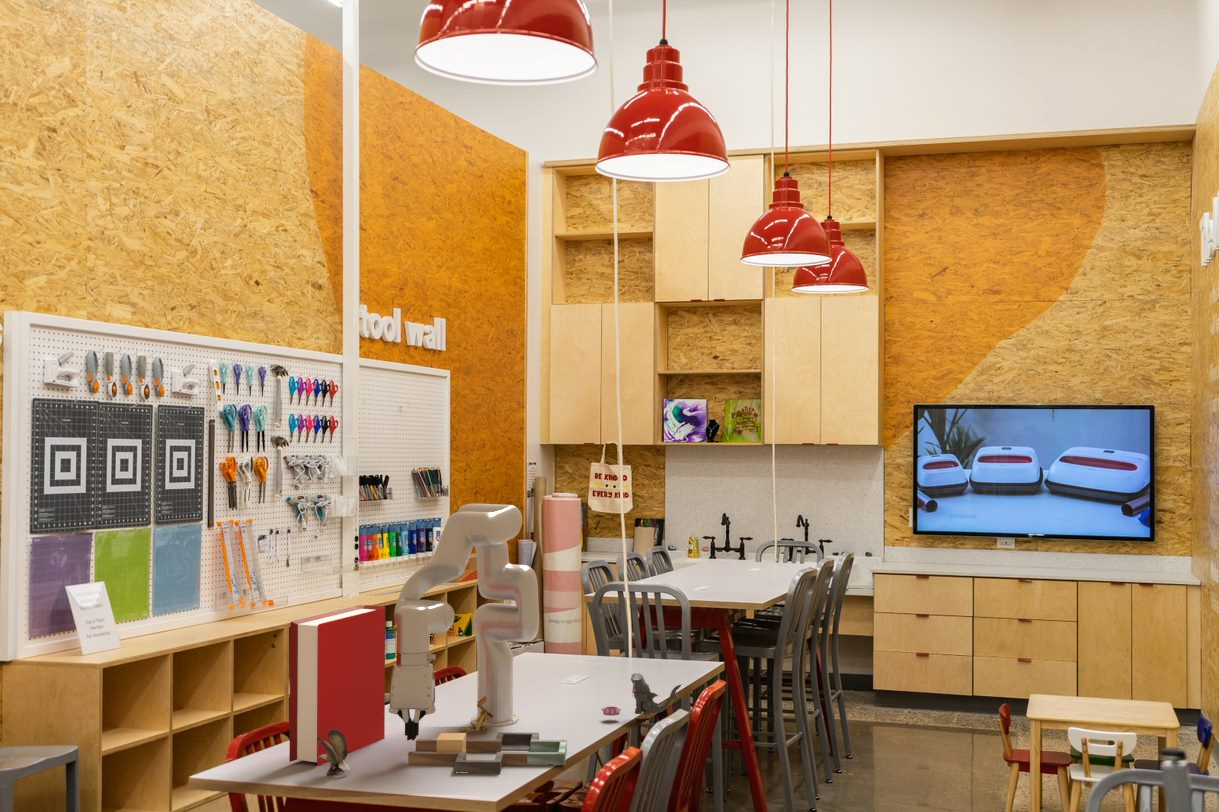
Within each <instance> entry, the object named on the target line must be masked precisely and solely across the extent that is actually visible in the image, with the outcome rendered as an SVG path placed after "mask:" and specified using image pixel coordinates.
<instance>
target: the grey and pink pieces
mask: <svg viewBox="0 0 1219 812" xmlns="http://www.w3.org/2000/svg"><path fill="white" fill-rule="evenodd" d="M630 682H631V683H632V689H631V690H632V692H631V693H632V694H633V697H634V699H635V706H636V708H635V709H634V715H642V714H643V715H645V716H646V715H647V716H649V715H651V714H657V713H662V712H663V711H665V710H666V709H668V707H669V706H670V705H671V703H672V702H673V701H674V700H676V699H677V698H679V697H680V696H679V695H677V694H676V693H677V690H679V689H680V687H681V686H682V684H678V685H676V686H674V687H673V689H671V691H670V694H669V698H668V699H666V701H665V702H664V703H663V704H661V705H660V703H658V702H655V700H653V699H655V698H656V697H659V694H657V693H655V692H652V691H651V689H650V685H649V684H648V683H647V682H646V681H645V678H644V676H643V674H641V673H639V672H635V673H632V674H631V676H630ZM600 710H601V711H602V714H603V715H604V716H610V717H611V716H613V717H614V716H620V714H621V711H622V708H619V706H612V705H611V706H603V707H602V708H601V709H600Z"/></svg>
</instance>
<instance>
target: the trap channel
mask: <svg viewBox="0 0 1219 812" xmlns="http://www.w3.org/2000/svg"><path fill="white" fill-rule="evenodd" d="M436 751H437V738H436V739H434V738H433V739H431V738H430V739H427V738H426V739H425V738H424V739H423V738H422V739H421V738H419V739H415V751H408V753H407V765H409V766H411V765H412V766H413V765H414V766H415V765H416V766H417V765H418V766H419V765H420V766H422V765H423V766H427V765H428V766H429V765H430V766H435V765H437V766H439V765H440V766H442V765H443V766H445V765H446V766H447V765H449V766H455V767H454V773H455V772H468V773H467V774H501V773H500V772H502V769H503V766H549V765H548V764H553V765H552V766H566V758H567V752H568V740H567V739H540V733H539V732H499V731H498V732H497V734H496V736H495V739H466V752H436ZM511 751H512V752H511ZM467 753H496V754H495V757H494V759H490V760H489V759H467Z"/></svg>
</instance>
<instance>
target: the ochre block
mask: <svg viewBox="0 0 1219 812" xmlns="http://www.w3.org/2000/svg"><path fill="white" fill-rule="evenodd" d="M436 739H437V751H436V752H466V740H467V732H440V733H439V734H438V736H437V738H436ZM466 753H467V752H466Z"/></svg>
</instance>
